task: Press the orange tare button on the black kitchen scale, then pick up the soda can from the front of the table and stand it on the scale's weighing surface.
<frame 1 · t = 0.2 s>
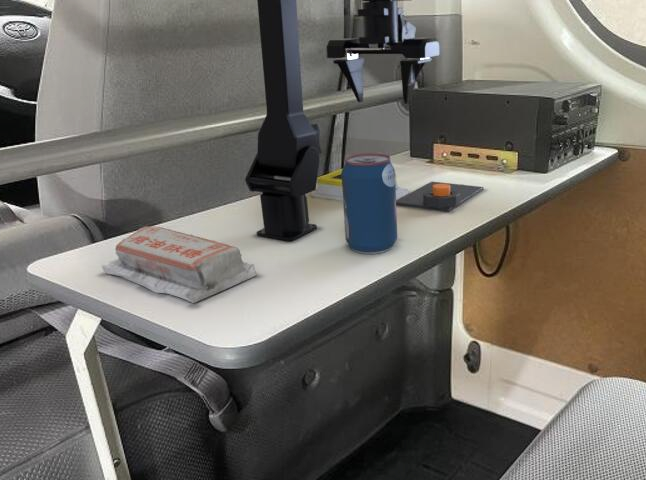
hand: (383, 102, 107), 14 cm above the table, tool pointing down, fingers open, 9 cm apart
scale: (439, 197, 105), on the table
emergency button: (359, 195, 109), on the table
packaged product: (180, 277, 78), on the table
soda can: (372, 248, 85), on the table
tare button: (441, 190, 99), point 3 cm above the table, slide at 0.1 cm
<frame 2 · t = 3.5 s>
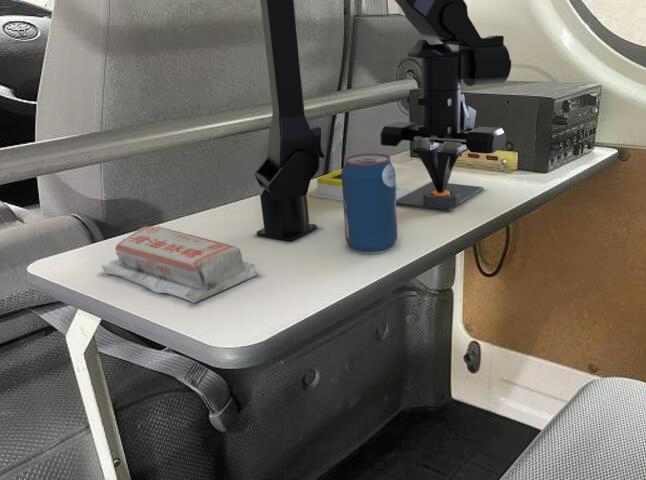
hand: (441, 192, 99), 2 cm above the table, tool pointing down, fingers closed, pressing on tare button
tare button: (441, 196, 100), point 2 cm above the table, slide at -0.9 cm, touching gripper
everything else where it was.
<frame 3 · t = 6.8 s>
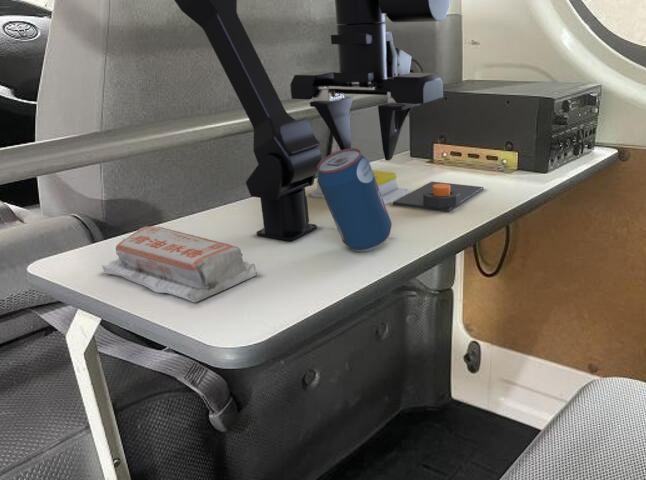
hand: (367, 157, 80), 12 cm above the table, tool pointing down, fingers open, 6 cm apart
soda can: (370, 240, 84), point 1 cm above the table, touching gripper
tare button: (441, 190, 99), point 3 cm above the table, slide at 0.1 cm
everything else where it was.
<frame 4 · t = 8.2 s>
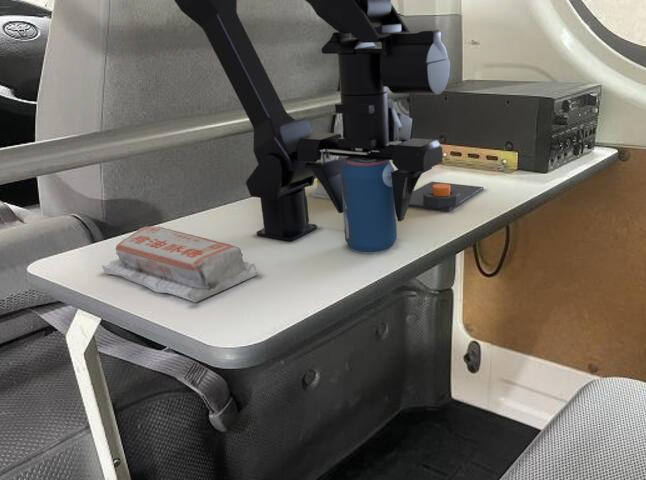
hand: (370, 216, 83), 4 cm above the table, tool pointing down
soda can: (371, 248, 85), on the table, touching gripper
everything else where it was.
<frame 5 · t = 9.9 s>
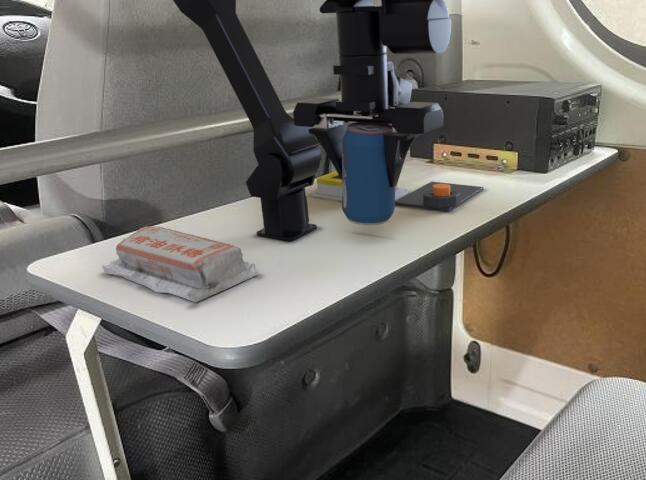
hand: (369, 183, 81), 9 cm above the table, tool pointing down, fingers closed on soda can, 7 cm apart
soda can: (368, 219, 83), point 4 cm above the table, touching gripper
everything else where it was.
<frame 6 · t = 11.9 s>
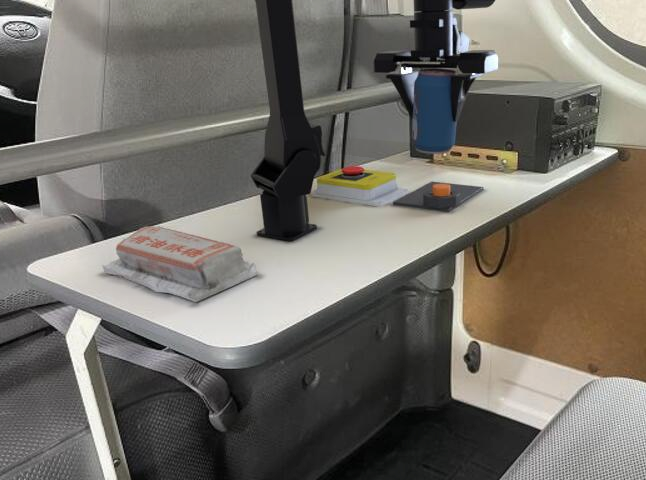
hand: (434, 120, 99), 13 cm above the table, tool pointing down, fingers closed on soda can, 7 cm apart
soda can: (432, 150, 101), point 8 cm above the table, touching gripper
everything else where it was.
when the fingers open (6 cm above the table, at t = 14.4 s): soda can stays where it is, resting on scale.
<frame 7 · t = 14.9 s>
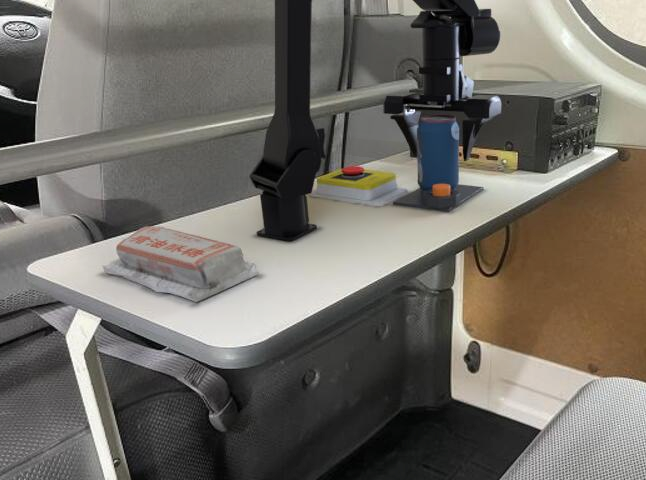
hand: (440, 158, 105), 6 cm above the table, tool pointing down, fingers open, 9 cm apart
soda can: (438, 190, 107), resting on scale
everything else where it was.
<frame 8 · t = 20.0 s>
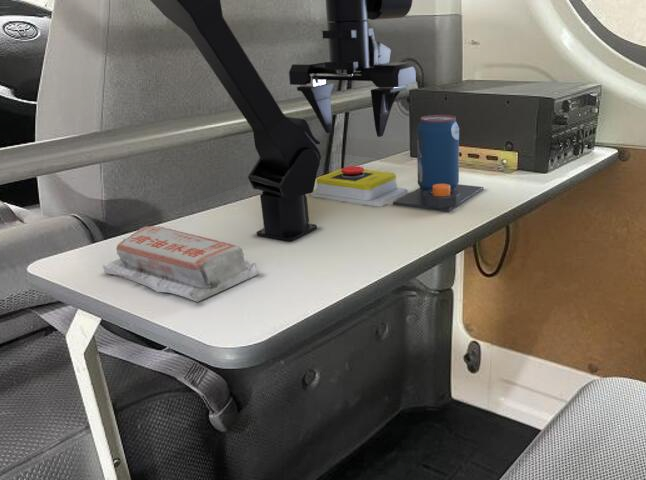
hand: (354, 134, 95), 12 cm above the table, tool pointing down, fingers open, 9 cm apart
nothing on the table moved.
at the end: tare button pushed in 1.1 cm at the most during the clip, back to where it started at the end; soda can inside the target area on the scale (0.9 cm from its centre), point 0.4 cm above the scale's base; soda can tilted 0° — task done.
